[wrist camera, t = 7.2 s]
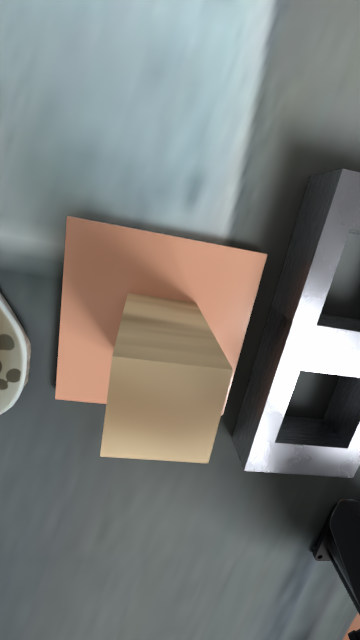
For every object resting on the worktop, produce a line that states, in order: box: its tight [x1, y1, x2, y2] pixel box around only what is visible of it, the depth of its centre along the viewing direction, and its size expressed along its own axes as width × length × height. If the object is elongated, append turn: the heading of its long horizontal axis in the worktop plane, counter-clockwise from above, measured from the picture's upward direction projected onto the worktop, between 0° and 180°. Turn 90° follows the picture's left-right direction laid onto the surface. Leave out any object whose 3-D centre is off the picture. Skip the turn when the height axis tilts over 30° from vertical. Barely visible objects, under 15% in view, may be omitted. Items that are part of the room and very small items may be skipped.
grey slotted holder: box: [232, 169, 360, 478], centre depth 19 cm, size 18×8×3 cm, turn 169°
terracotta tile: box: [55, 216, 267, 415], centre depth 18 cm, size 11×11×1 cm
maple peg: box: [100, 293, 233, 463], centre depth 14 cm, size 4×4×8 cm
